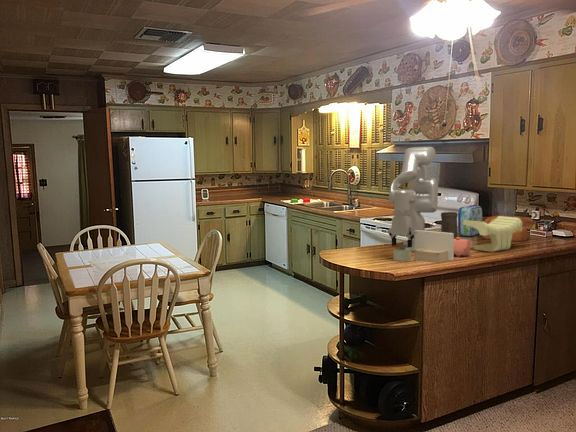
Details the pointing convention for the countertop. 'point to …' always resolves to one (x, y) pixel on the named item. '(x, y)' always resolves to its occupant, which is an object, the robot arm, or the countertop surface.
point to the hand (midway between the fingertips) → (401, 246)
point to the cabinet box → (402, 253)
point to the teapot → (461, 247)
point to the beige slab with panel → (434, 246)
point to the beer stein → (449, 223)
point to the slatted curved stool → (496, 232)
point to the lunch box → (469, 214)
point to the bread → (515, 236)
